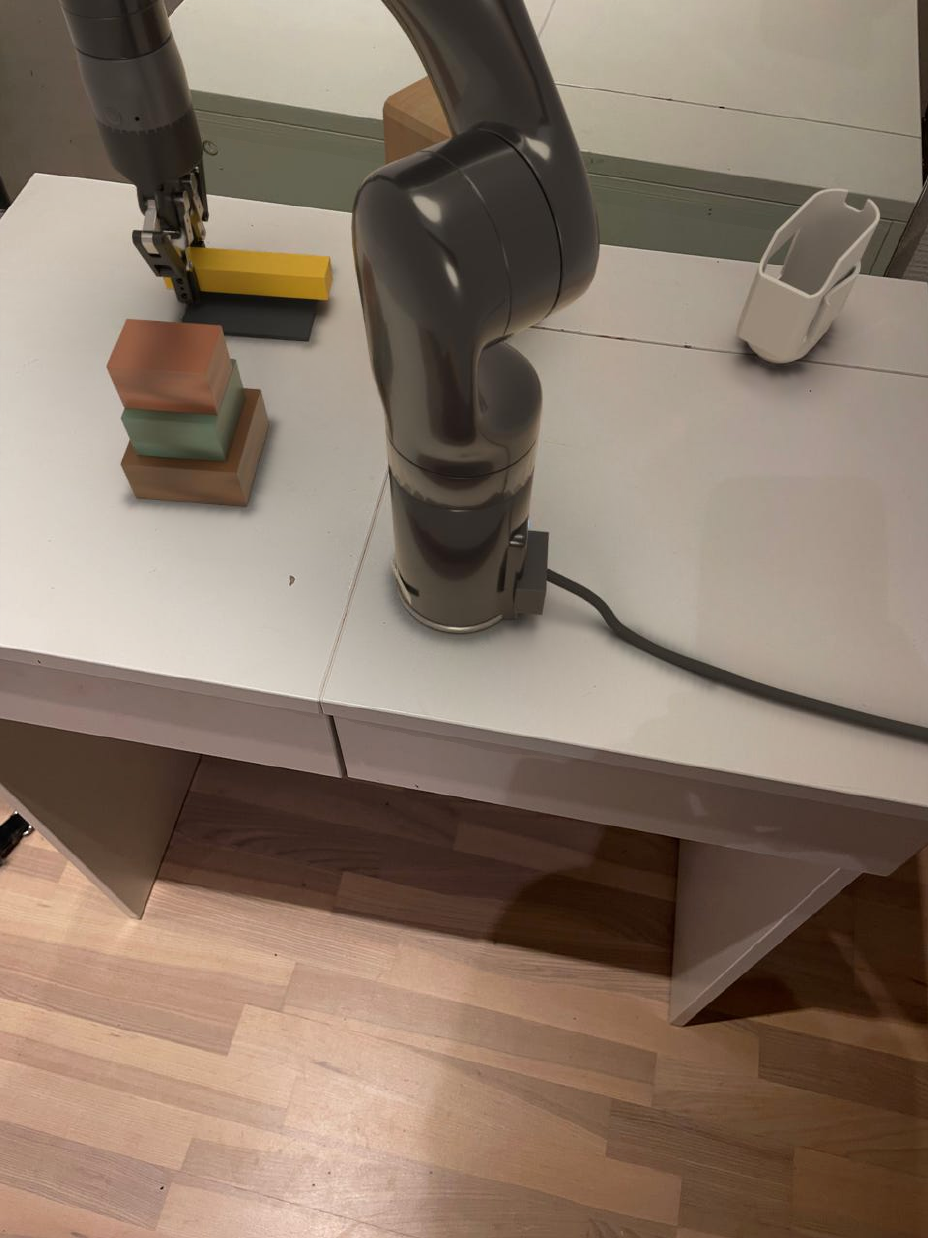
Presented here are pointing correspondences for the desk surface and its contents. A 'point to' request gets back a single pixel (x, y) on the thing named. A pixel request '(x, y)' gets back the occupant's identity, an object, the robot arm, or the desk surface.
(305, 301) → the rubber mat
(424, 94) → the wooden block
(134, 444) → the toy tower
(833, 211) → the cable organizer
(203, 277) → the yellow bar
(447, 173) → the robot arm
